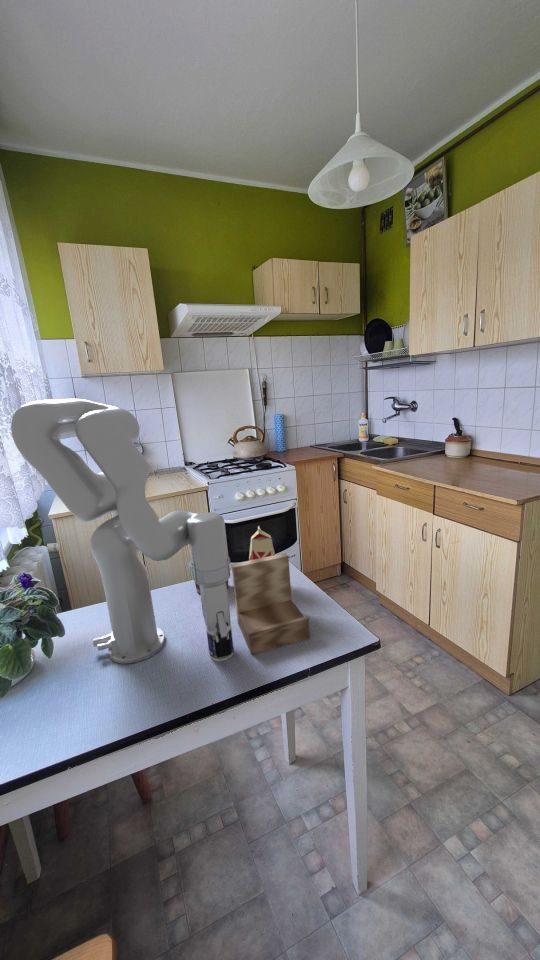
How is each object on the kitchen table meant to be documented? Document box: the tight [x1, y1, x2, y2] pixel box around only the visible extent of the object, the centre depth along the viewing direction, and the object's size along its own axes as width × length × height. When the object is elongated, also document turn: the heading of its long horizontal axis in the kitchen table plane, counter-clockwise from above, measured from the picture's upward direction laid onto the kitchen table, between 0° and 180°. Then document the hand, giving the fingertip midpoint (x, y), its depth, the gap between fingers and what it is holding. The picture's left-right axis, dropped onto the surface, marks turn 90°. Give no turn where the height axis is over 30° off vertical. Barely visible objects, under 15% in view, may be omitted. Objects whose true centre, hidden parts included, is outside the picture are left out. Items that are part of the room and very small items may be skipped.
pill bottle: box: [206, 615, 234, 662], centre depth 84 cm, size 5×5×10 cm
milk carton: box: [248, 525, 276, 561], centre depth 108 cm, size 9×9×20 cm
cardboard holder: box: [230, 552, 311, 656], centre depth 90 cm, size 14×13×16 cm
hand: (221, 646), depth 85 cm, fingers closed on pill bottle, 5 cm apart
